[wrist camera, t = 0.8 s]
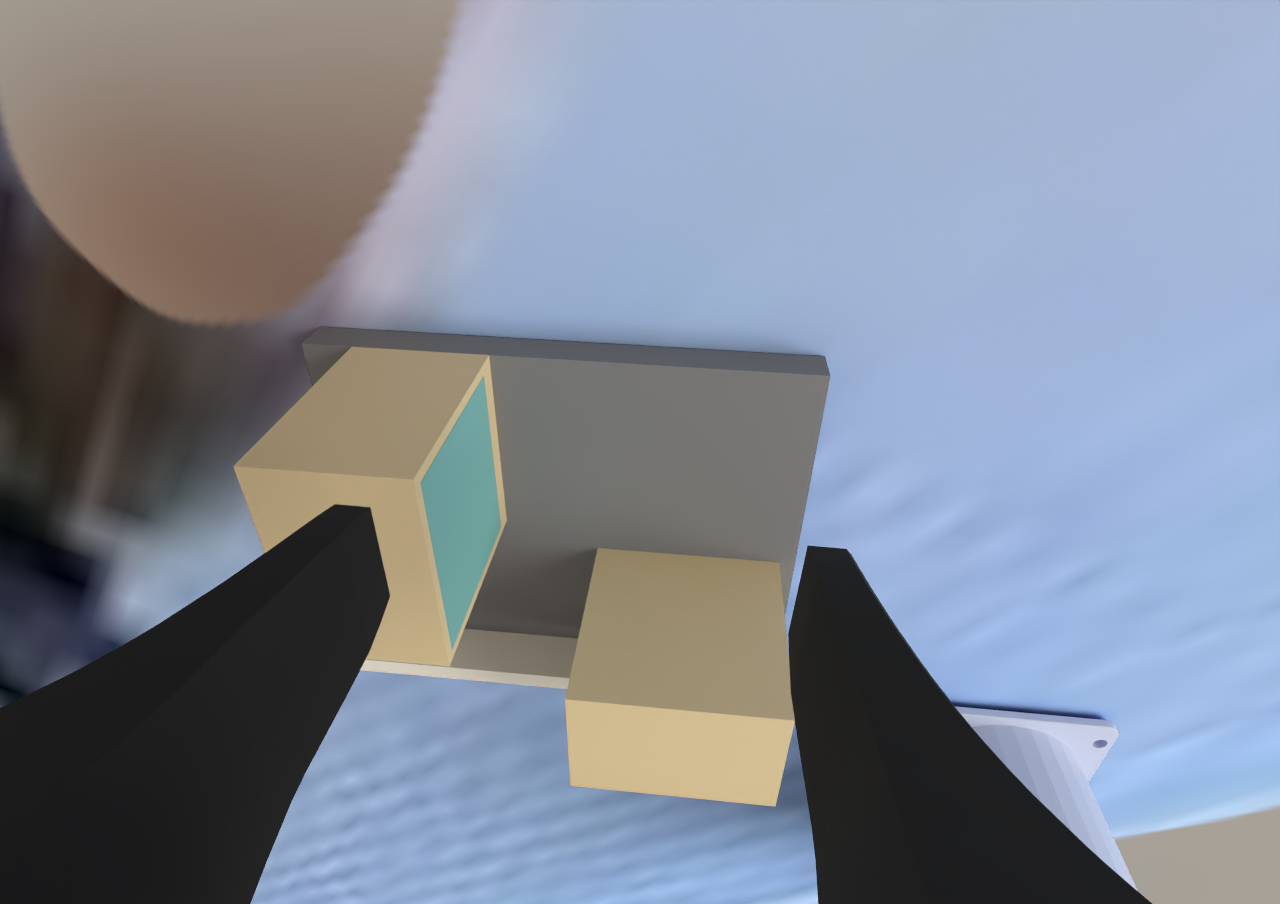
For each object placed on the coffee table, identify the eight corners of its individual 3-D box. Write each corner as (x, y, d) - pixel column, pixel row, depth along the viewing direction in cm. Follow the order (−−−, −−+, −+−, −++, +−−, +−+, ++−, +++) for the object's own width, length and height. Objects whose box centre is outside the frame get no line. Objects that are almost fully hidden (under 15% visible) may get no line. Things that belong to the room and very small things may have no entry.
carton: (507, 520, 24) (450, 666, 19) (388, 511, 24) (300, 652, 19) (490, 355, 20) (414, 479, 15) (351, 346, 20) (233, 466, 15)
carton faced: (599, 631, 26) (570, 786, 21) (597, 548, 24) (564, 699, 19) (764, 645, 26) (775, 806, 21) (779, 562, 23) (795, 720, 18)
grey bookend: (773, 641, 27) (778, 708, 25) (390, 608, 28) (358, 669, 26) (824, 356, 21) (839, 408, 18) (320, 326, 22) (268, 372, 19)
